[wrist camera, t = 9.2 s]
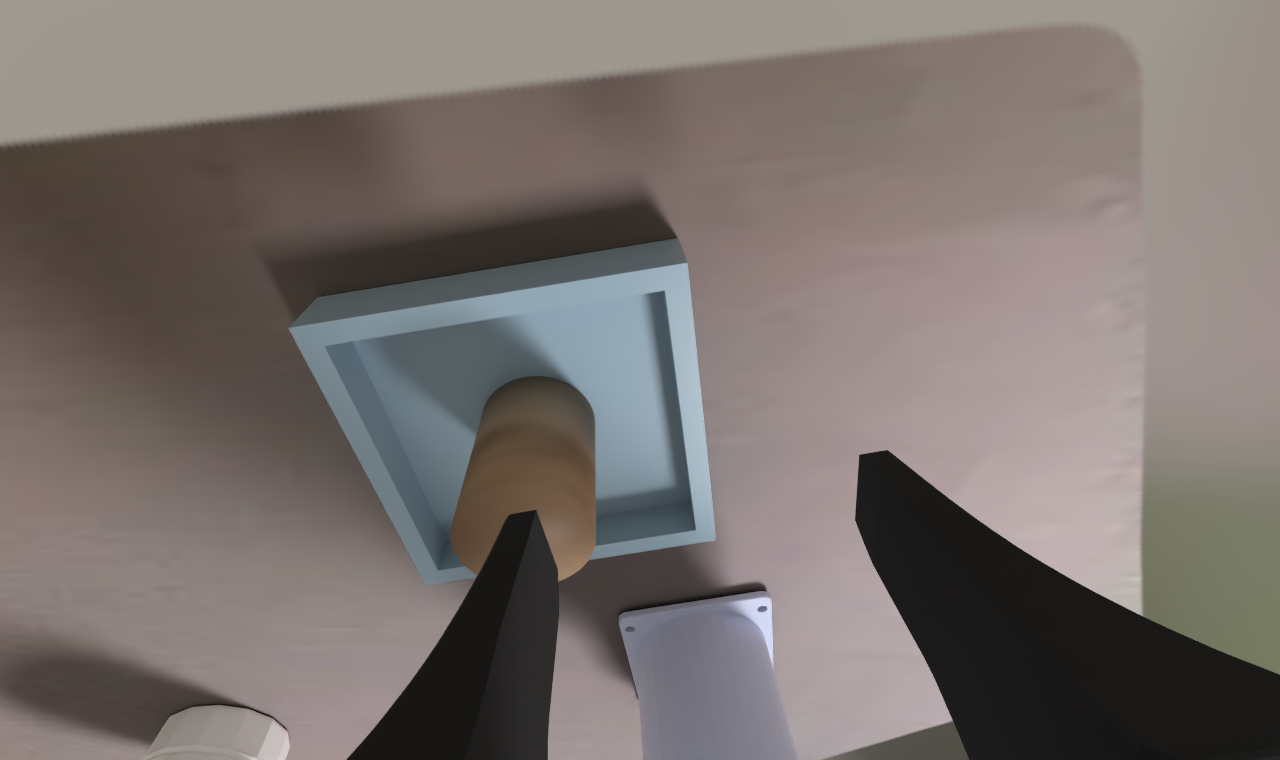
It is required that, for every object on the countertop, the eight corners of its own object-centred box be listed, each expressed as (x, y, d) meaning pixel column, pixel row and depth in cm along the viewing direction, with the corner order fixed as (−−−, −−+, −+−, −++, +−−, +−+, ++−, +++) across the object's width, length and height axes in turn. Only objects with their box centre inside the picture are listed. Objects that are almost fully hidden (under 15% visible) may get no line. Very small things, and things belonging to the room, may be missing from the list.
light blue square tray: (706, 501, 27) (716, 540, 25) (437, 544, 27) (425, 585, 25) (678, 238, 20) (687, 262, 18) (317, 297, 20) (288, 328, 18)
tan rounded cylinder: (601, 460, 24) (604, 578, 19) (496, 472, 24) (470, 594, 19) (586, 369, 22) (585, 477, 17) (469, 383, 22) (432, 495, 17)
